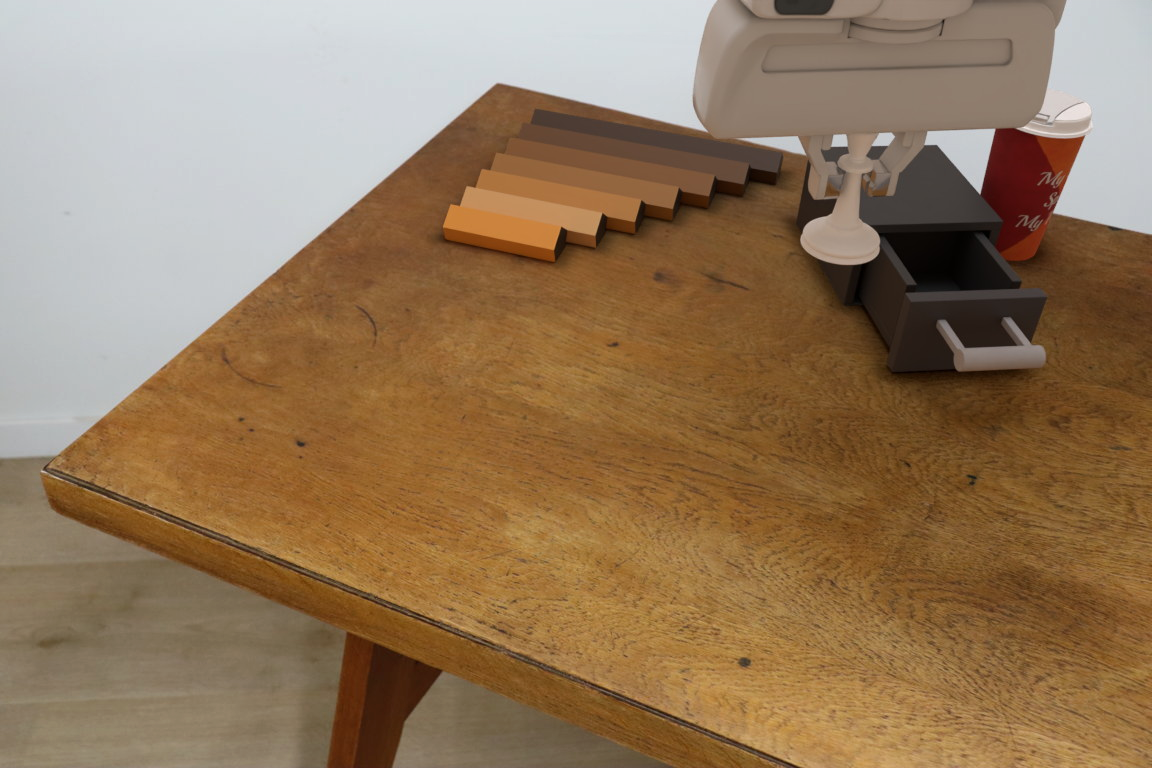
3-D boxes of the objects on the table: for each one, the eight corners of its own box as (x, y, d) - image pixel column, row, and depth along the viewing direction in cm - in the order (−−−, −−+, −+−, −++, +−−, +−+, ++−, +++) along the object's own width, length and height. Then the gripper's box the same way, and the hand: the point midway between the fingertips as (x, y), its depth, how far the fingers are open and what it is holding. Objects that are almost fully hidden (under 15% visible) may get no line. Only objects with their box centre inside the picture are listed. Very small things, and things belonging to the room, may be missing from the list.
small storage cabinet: (976, 307, 92) (1003, 221, 87) (841, 312, 90) (861, 225, 85) (915, 225, 102) (937, 144, 97) (794, 228, 101) (810, 146, 96)
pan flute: (780, 176, 109) (540, 132, 114) (785, 144, 107) (541, 101, 112) (727, 308, 90) (443, 248, 96) (733, 272, 88) (442, 213, 93)
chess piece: (797, 259, 68) (823, 106, 62) (803, 220, 72) (828, 73, 66) (878, 270, 68) (913, 117, 61) (880, 231, 71) (913, 83, 65)
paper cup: (1035, 282, 95) (1089, 131, 87) (947, 256, 98) (990, 107, 90) (1053, 244, 101) (1105, 98, 92) (969, 220, 104) (1012, 76, 95)
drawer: (1055, 410, 80) (1083, 339, 76) (918, 417, 78) (939, 345, 75) (957, 277, 94) (976, 211, 90) (839, 282, 92) (853, 215, 88)
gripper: (1049, -59, 63) (988, 163, 71) (698, -53, 60) (677, 176, 69) (1106, -23, 58) (1033, 211, 67) (725, -15, 56) (700, 227, 64)
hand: (849, 193), depth 68 cm, fingers closed on chess piece
